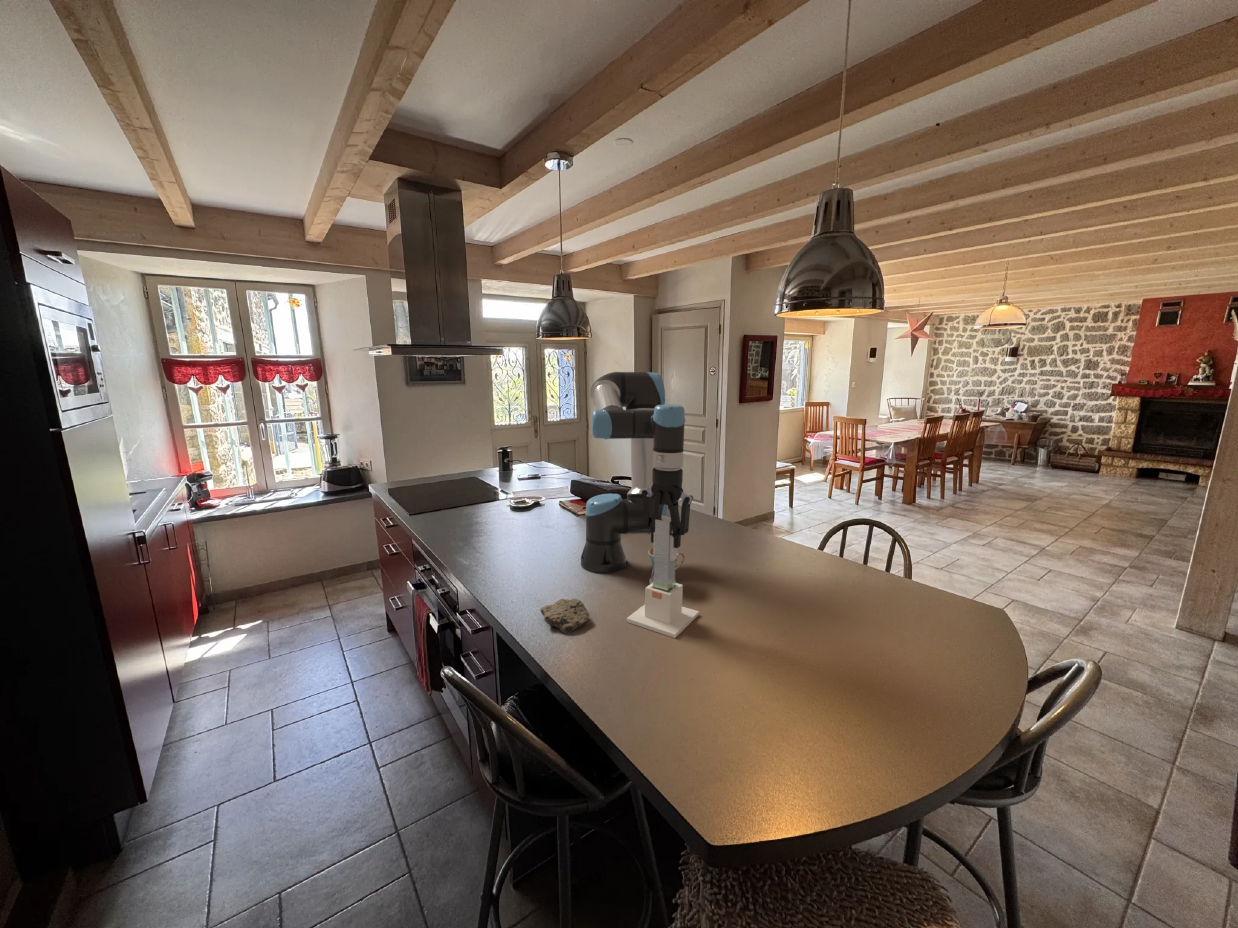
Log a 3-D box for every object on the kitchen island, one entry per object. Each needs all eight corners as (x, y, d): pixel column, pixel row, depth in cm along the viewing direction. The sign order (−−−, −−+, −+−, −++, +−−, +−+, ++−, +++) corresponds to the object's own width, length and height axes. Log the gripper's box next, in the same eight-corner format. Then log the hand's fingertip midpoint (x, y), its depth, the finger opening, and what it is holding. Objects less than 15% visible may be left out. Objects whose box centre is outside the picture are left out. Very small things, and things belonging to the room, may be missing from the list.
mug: (657, 594, 143) (658, 559, 141) (642, 582, 151) (642, 549, 149) (691, 586, 148) (693, 553, 146) (674, 575, 157) (675, 543, 154)
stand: (653, 600, 139) (653, 571, 137) (698, 614, 131) (700, 583, 130) (626, 621, 127) (627, 589, 126) (674, 638, 120) (676, 603, 118)
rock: (551, 638, 120) (551, 621, 119) (538, 616, 130) (538, 600, 129) (593, 628, 124) (593, 612, 124) (578, 607, 135) (577, 592, 134)
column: (660, 587, 131) (662, 515, 127) (675, 591, 129) (677, 518, 125) (652, 593, 127) (654, 519, 124) (667, 597, 125) (669, 522, 121)
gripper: (630, 466, 123) (629, 554, 128) (692, 474, 114) (689, 569, 118) (645, 461, 129) (643, 545, 134) (705, 469, 120) (701, 559, 125)
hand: (665, 556), depth 126 cm, fingers closed on column, 4 cm apart
